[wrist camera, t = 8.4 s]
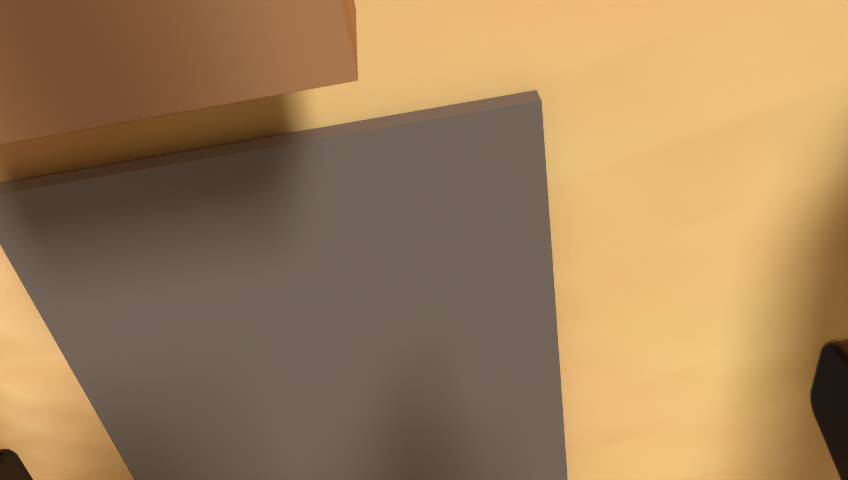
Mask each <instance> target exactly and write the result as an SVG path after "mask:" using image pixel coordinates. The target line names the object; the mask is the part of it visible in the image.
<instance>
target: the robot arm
mask: <svg viewBox="0 0 848 480" xmlns="http://www.w3.org/2000/svg"><path fill="white" fill-rule="evenodd" d="M810 399H811V406H812V410H813V413H814V416H815V418H816V421H817V423H818V426H819V428H820V430H821V433H822V435H823V438H824V440H825V443H826V445H827V447H828V450H829V452H830V455H831V457H832V460H833V462H834V464H835V467H836V469H837V472H838V474H839V477H840V479H841V480H848V337H847V338H840V339H832V340H829V341H827V342H826V343H825V344H824V345H823V346H822V348H821V351H820V355H819V359H818V363H817V367H816V371H815V375H814V379H813V383H812V388H811V394H810ZM0 480H33V479H32V477H31V476H30V474H29V473H28V471H27V469H26V468H25V466H24V465H23V463H22V461H21V460H20V458H19V457H18V455H17V454H16V453H15V452H13V451H11V450H10V449H0Z"/></svg>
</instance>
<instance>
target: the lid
mask: <svg viewBox="0 0 848 480" xmlns="http://www.w3.org/2000/svg"><path fill="white" fill-rule="evenodd" d="M352 81H358V72H357V38H356V9H355V4H354V0H0V144H5V143H10V142H16V141H21V140H27V139H33V138H38V137H44V136H49V135H55V134H61V133H66V132H72V131H77V130H83V129H89V128H94V127H100V126H105V125H111V124H117V123H122V122H128V121H134V120H139V119H145V118H150V117H156V116H162V115H167V114H173V113H178V112H184V111H190V110H195V109H201V108H206V107H212V106H218V105H223V104H229V103H234V102H240V101H246V100H251V99H257V98H262V97H268V96H274V95H279V94H285V93H290V92H296V91H302V90H307V89H313V88H318V87H324V86H330V85H335V84H341V83H347V82H352Z"/></svg>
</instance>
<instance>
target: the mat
mask: <svg viewBox="0 0 848 480" xmlns="http://www.w3.org/2000/svg"><path fill="white" fill-rule="evenodd" d="M0 245H1V246H2V248H3V250H4V252H5V253H6V255H7V257H8V259H9V260H10V262H11V264H12V266H13V267H14V269H15V271H16V273H17V274H18V276H19V278H20V280H21V281H22V283H23V285H24V287H25V288H26V290H27V292H28V294H29V295H30V297H31V299H32V301H33V302H34V304H35V306H36V308H37V310H38V311H39V313H40V315H41V317H42V318H43V320H44V322H45V324H46V325H47V327H48V329H49V331H50V332H51V334H52V336H53V338H54V339H55V341H56V343H57V345H58V346H59V348H60V350H61V352H62V353H63V355H64V357H65V359H66V360H67V362H68V364H69V366H70V367H71V369H72V371H73V373H74V374H75V376H76V378H77V380H78V381H79V383H80V385H81V387H82V388H83V390H84V392H85V394H86V395H87V397H88V399H89V401H90V402H91V404H92V406H93V408H94V409H95V411H96V413H97V415H98V416H99V418H100V420H101V422H102V423H103V425H104V427H105V429H106V430H107V432H108V434H109V436H110V437H111V439H112V441H113V443H114V444H115V446H116V448H117V450H118V451H119V453H120V455H121V457H122V458H123V460H124V462H125V464H126V465H127V467H128V469H129V471H130V472H131V474H132V476H133V478H134V479H135V480H567V465H566V451H565V436H564V422H563V407H562V393H561V378H560V364H559V349H558V335H557V320H556V306H555V291H554V276H553V262H552V247H551V233H550V218H549V204H548V189H547V175H546V160H545V146H544V131H543V117H542V102H541V99H540V97H539V95H538V93H537V90H536V91H530V92H524V93H518V94H513V95H507V96H501V97H495V98H489V99H484V100H478V101H472V102H466V103H461V104H455V105H449V106H443V107H438V108H432V109H426V110H420V111H414V112H409V113H403V114H397V115H391V116H386V117H380V118H374V119H368V120H363V121H357V122H351V123H345V124H340V125H334V126H328V127H322V128H316V129H311V130H305V131H299V132H293V133H288V134H282V135H276V136H270V137H265V138H259V139H253V140H247V141H242V142H236V143H230V144H224V145H218V146H213V147H207V148H201V149H195V150H190V151H184V152H178V153H172V154H167V155H161V156H155V157H149V158H144V159H138V160H132V161H126V162H120V163H115V164H109V165H103V166H97V167H92V168H86V169H80V170H74V171H69V172H63V173H57V174H51V175H46V176H40V177H34V178H28V179H22V180H17V181H11V182H5V183H0Z"/></svg>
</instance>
